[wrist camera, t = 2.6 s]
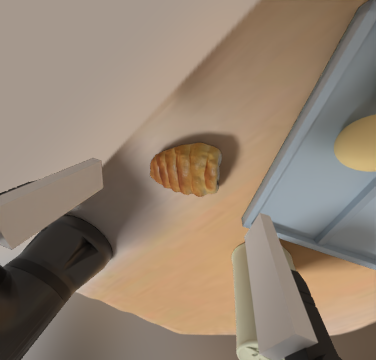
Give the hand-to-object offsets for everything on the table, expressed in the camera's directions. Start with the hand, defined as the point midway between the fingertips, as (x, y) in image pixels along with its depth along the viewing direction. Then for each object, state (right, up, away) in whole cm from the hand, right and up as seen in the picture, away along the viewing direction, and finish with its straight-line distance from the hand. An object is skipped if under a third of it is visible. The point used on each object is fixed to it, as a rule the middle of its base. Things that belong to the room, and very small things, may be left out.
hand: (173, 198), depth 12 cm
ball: (+17, +6, +2) cm, 18 cm away
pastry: (+2, +3, +8) cm, 9 cm away
